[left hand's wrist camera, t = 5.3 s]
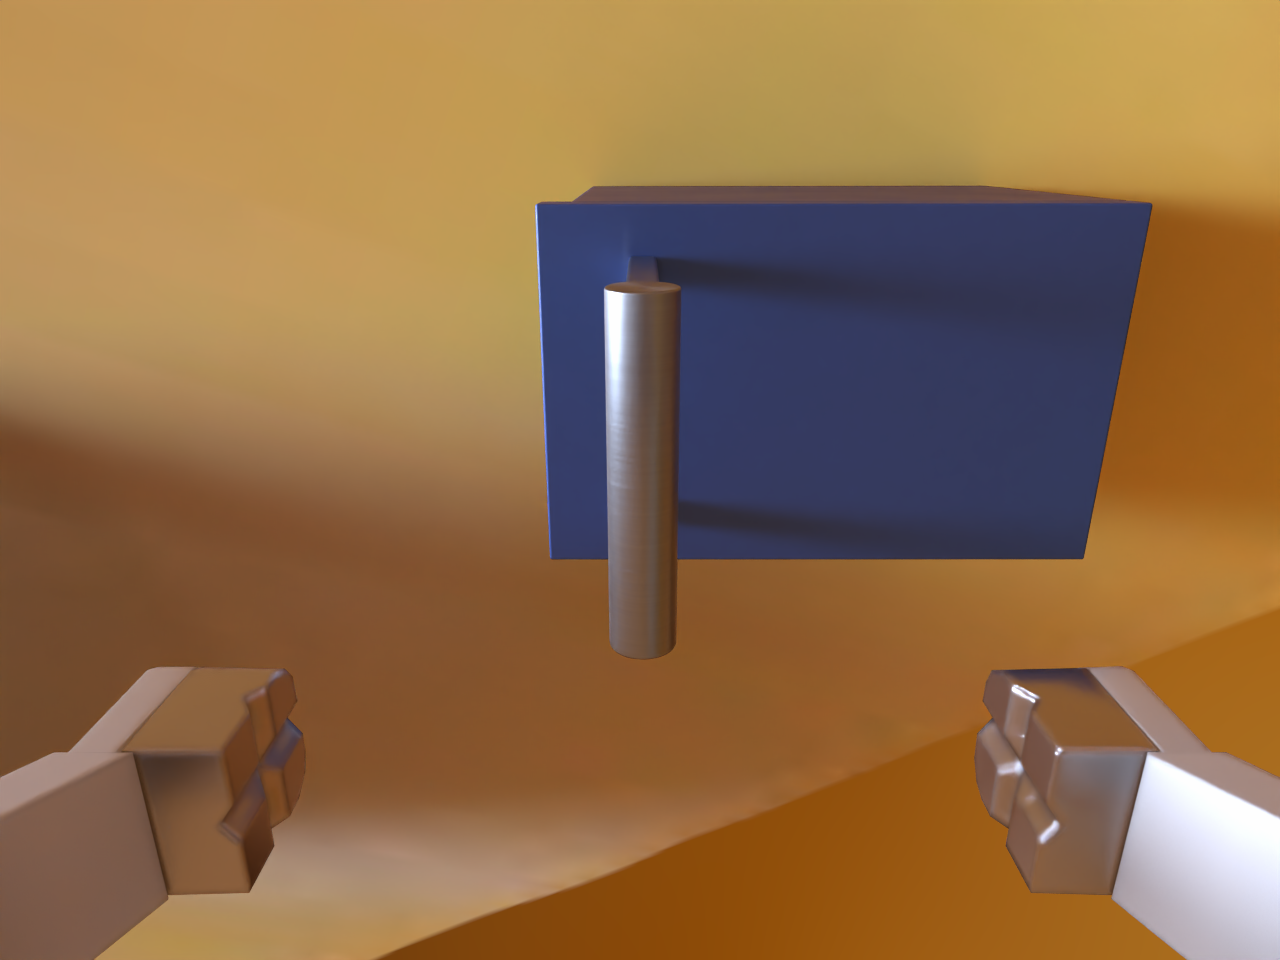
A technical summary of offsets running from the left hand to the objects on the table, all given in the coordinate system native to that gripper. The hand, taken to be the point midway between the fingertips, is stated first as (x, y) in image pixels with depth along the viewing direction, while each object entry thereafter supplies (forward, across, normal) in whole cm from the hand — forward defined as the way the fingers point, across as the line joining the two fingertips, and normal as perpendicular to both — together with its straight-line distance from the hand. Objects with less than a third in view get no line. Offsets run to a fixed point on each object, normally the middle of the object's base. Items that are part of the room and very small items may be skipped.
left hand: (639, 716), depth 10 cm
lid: (+15, -5, 0) cm, 16 cm away
